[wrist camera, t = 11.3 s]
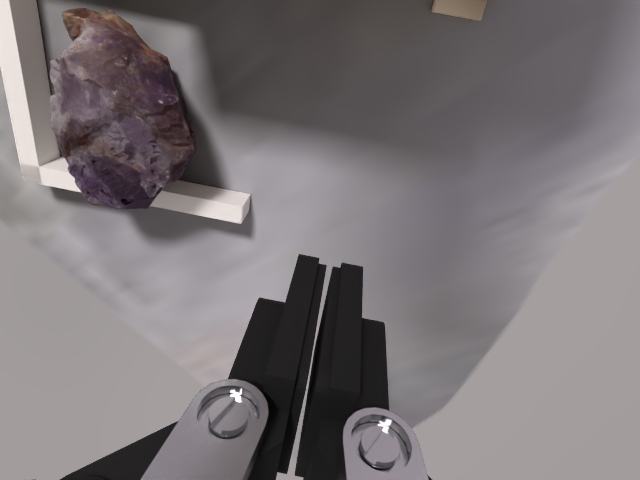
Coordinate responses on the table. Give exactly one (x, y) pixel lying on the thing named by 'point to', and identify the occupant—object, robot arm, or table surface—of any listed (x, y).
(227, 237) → the table surface
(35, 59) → the corral
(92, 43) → the rock
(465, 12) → the shelf
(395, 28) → the table surface
